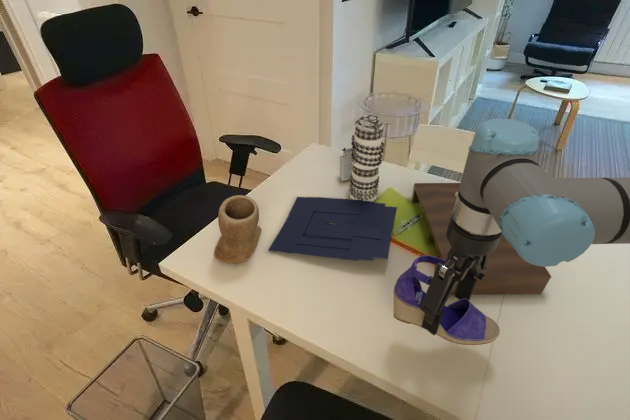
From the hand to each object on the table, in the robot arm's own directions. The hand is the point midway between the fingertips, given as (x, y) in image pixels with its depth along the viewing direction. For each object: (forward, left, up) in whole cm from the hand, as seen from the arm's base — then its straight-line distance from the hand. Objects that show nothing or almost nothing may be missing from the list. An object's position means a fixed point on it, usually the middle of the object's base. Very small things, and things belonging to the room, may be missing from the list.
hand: (445, 313), depth 69 cm
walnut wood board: (+12, -31, -9) cm, 35 cm away
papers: (+37, -7, -9) cm, 39 cm away
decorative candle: (+44, -25, -9) cm, 52 cm away
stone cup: (+49, +15, -9) cm, 52 cm away
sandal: (0, 0, -3) cm, 3 cm away
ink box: (+53, -31, -9) cm, 62 cm away
